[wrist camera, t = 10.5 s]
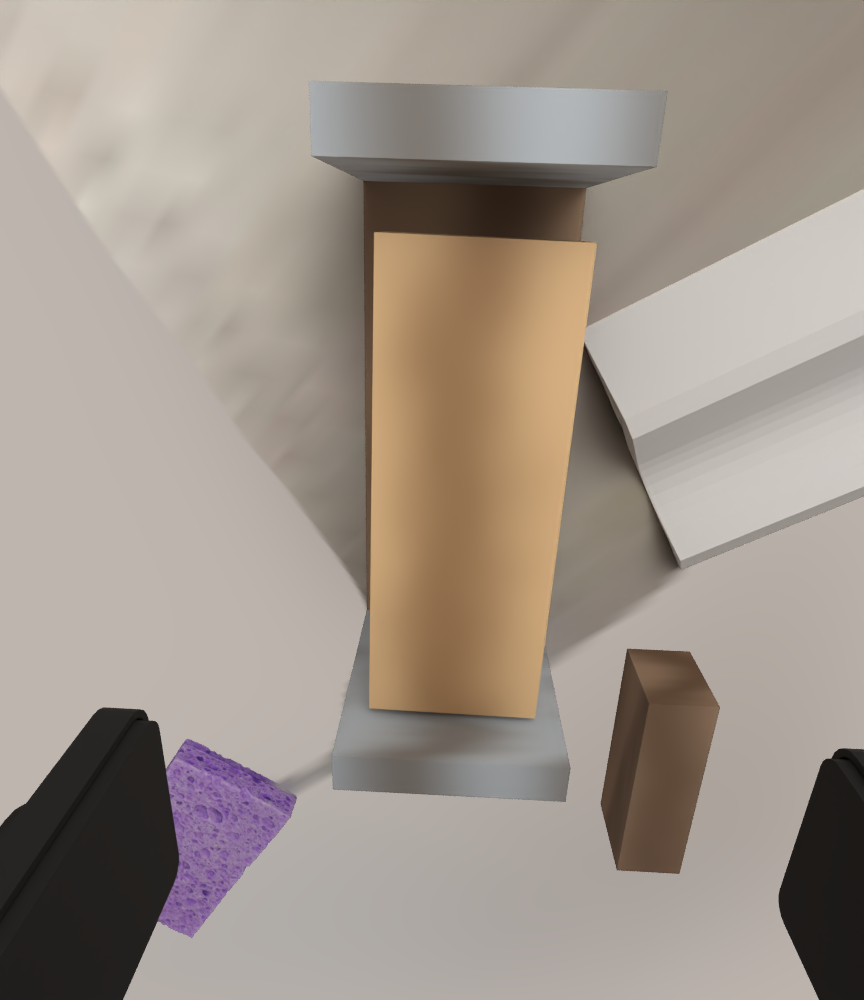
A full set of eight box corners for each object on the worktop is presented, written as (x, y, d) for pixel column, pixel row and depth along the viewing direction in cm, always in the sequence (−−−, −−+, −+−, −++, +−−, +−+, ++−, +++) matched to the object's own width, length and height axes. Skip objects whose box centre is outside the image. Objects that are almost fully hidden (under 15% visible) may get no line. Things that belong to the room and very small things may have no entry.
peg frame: (587, 143, 24) (667, 91, 15) (534, 635, 32) (565, 802, 23) (366, 136, 24) (308, 81, 15) (369, 627, 32) (333, 789, 23)
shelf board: (578, 240, 21) (597, 242, 18) (527, 667, 27) (535, 718, 24) (385, 231, 21) (374, 232, 18) (378, 658, 27) (369, 708, 24)
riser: (689, 651, 32) (720, 707, 28) (656, 806, 36) (679, 873, 32) (627, 648, 32) (649, 703, 28) (600, 803, 36) (617, 870, 32)
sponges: (300, 790, 37) (292, 818, 35) (200, 915, 41) (189, 945, 40) (187, 732, 36) (173, 758, 34) (96, 867, 40) (80, 896, 38)
